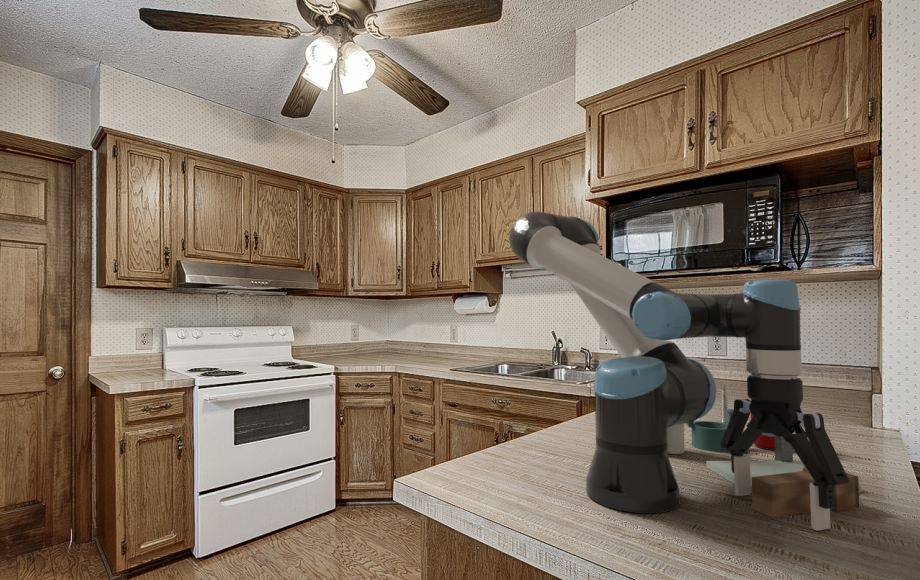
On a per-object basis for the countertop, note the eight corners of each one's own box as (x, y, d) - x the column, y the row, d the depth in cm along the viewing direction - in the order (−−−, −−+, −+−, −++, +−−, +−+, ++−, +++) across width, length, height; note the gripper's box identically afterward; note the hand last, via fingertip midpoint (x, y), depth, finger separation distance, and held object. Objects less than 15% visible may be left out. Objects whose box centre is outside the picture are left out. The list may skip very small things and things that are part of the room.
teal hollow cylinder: (740, 448, 111) (739, 409, 112) (716, 454, 107) (715, 413, 107) (703, 439, 119) (702, 403, 120) (680, 445, 114) (679, 407, 115)
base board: (748, 492, 84) (748, 485, 84) (706, 466, 98) (706, 461, 98) (861, 492, 84) (861, 485, 84) (803, 466, 98) (803, 460, 98)
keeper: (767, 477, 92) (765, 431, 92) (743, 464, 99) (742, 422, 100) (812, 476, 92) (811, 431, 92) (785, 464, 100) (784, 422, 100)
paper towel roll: (671, 446, 113) (669, 355, 114) (690, 453, 107) (688, 357, 108) (645, 449, 111) (644, 356, 112) (664, 456, 105) (662, 358, 106)
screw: (715, 428, 130) (735, 431, 127) (713, 432, 125) (735, 435, 123) (713, 380, 130) (734, 381, 128) (712, 382, 126) (733, 384, 124)
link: (778, 520, 73) (777, 487, 73) (747, 506, 78) (746, 475, 79) (859, 507, 77) (858, 476, 78) (824, 495, 83) (823, 465, 83)
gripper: (876, 385, 66) (883, 542, 65) (729, 366, 90) (733, 481, 89) (835, 388, 64) (842, 550, 63) (696, 368, 88) (700, 485, 87)
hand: (778, 510), depth 76 cm, fingers open, 13 cm apart
